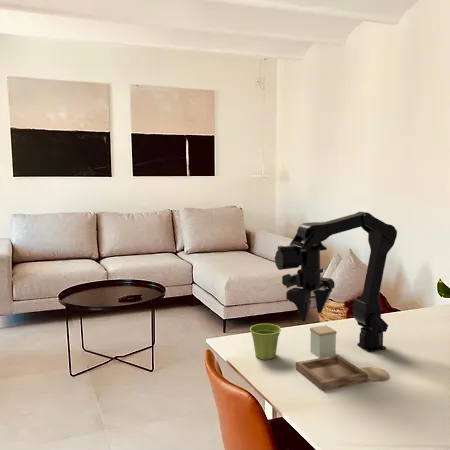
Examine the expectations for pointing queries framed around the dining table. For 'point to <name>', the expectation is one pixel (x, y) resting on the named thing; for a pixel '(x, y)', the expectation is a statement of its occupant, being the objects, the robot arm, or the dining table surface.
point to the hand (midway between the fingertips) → (311, 316)
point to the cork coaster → (375, 373)
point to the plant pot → (265, 340)
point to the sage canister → (323, 341)
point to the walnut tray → (331, 372)
